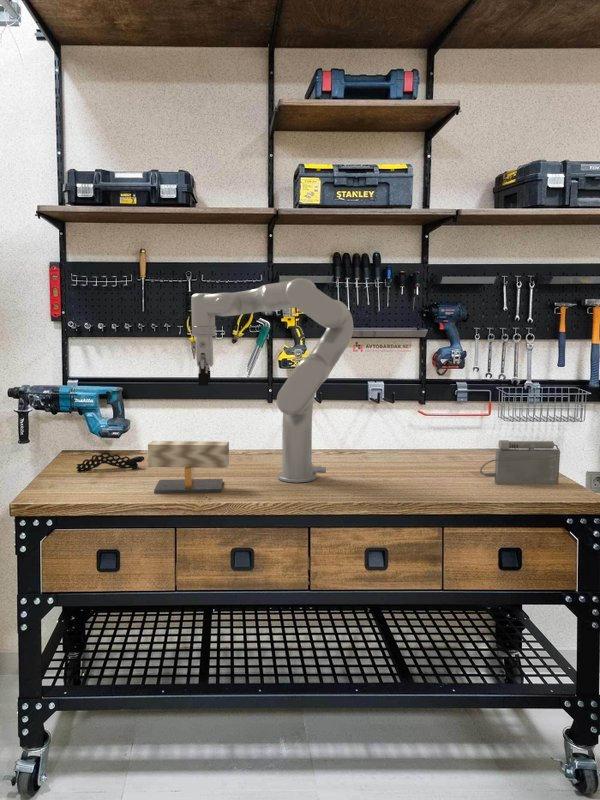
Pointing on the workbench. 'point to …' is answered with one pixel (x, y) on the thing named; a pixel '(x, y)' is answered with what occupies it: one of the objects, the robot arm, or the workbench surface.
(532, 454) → the geiger counter
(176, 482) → the stand
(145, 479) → the workbench surface
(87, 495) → the workbench surface
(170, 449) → the maple bar
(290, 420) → the robot arm
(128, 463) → the decorative element
